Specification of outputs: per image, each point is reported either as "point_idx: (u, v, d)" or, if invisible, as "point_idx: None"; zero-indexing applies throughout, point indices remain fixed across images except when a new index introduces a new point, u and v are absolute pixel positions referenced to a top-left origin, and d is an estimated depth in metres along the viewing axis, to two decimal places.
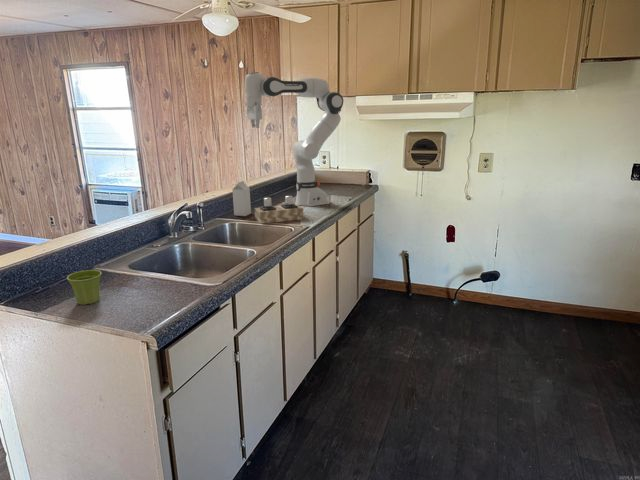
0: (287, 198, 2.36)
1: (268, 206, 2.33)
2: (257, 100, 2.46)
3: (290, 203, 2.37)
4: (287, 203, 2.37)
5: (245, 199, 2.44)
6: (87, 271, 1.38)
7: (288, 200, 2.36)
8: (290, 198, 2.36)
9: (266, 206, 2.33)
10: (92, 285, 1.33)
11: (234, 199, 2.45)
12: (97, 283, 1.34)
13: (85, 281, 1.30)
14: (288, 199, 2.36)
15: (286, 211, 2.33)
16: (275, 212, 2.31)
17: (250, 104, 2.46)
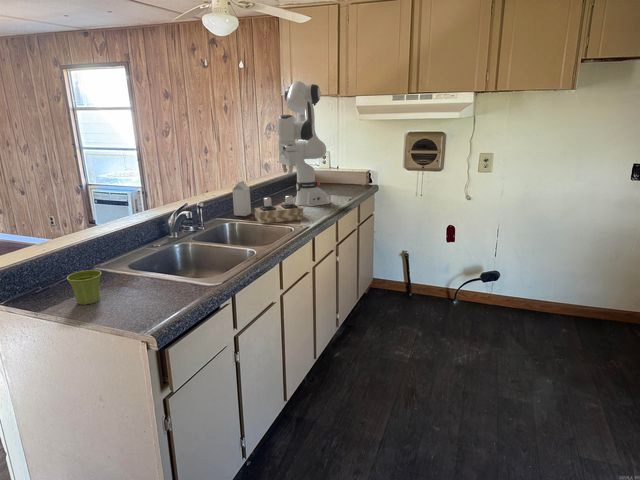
0: (287, 198, 2.36)
1: (268, 206, 2.33)
2: None
3: (290, 203, 2.37)
4: (287, 203, 2.37)
5: (245, 199, 2.44)
6: (87, 271, 1.38)
7: (288, 200, 2.36)
8: (290, 198, 2.36)
9: (266, 206, 2.33)
10: (92, 285, 1.33)
11: (234, 199, 2.45)
12: (97, 283, 1.34)
13: (85, 281, 1.30)
14: (288, 199, 2.36)
15: (286, 211, 2.33)
16: (275, 212, 2.31)
17: None
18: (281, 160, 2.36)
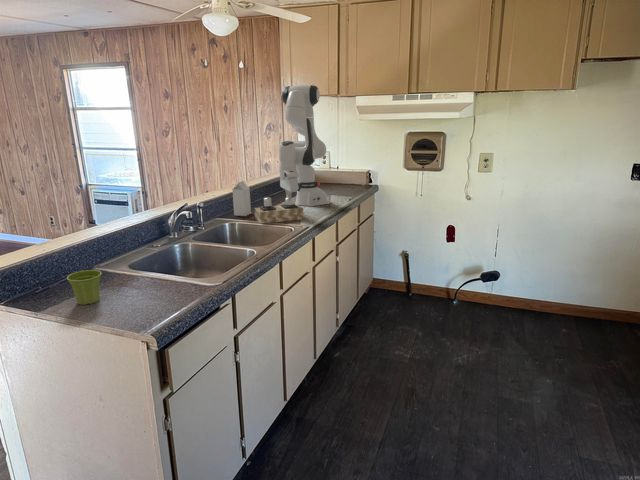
0: (287, 200, 2.37)
1: (268, 206, 2.33)
2: None
3: (290, 205, 2.37)
4: (287, 205, 2.37)
5: (245, 199, 2.44)
6: (87, 271, 1.38)
7: (288, 202, 2.37)
8: (290, 200, 2.37)
9: (266, 206, 2.33)
10: (92, 285, 1.33)
11: (234, 199, 2.45)
12: (97, 283, 1.34)
13: (85, 281, 1.30)
14: (288, 201, 2.37)
15: (286, 211, 2.33)
16: (275, 212, 2.31)
17: None
18: (282, 185, 2.40)
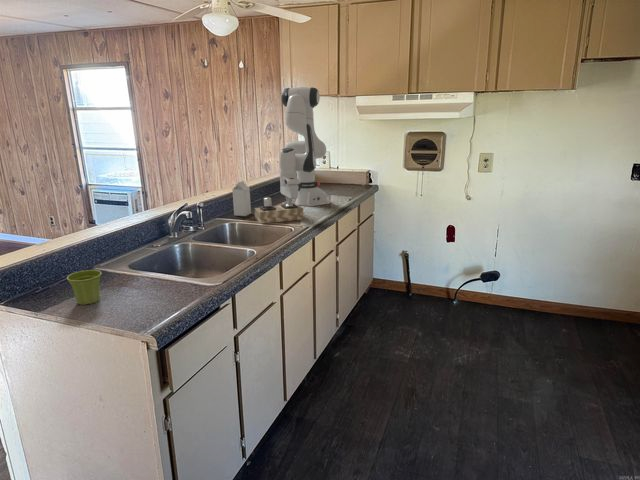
0: None
1: (268, 206, 2.33)
2: None
3: None
4: None
5: (245, 199, 2.44)
6: (87, 271, 1.38)
7: None
8: None
9: (266, 206, 2.33)
10: (92, 285, 1.33)
11: (234, 199, 2.45)
12: (97, 283, 1.34)
13: (85, 281, 1.30)
14: None
15: (286, 211, 2.33)
16: (275, 212, 2.31)
17: None
18: (282, 191, 2.41)
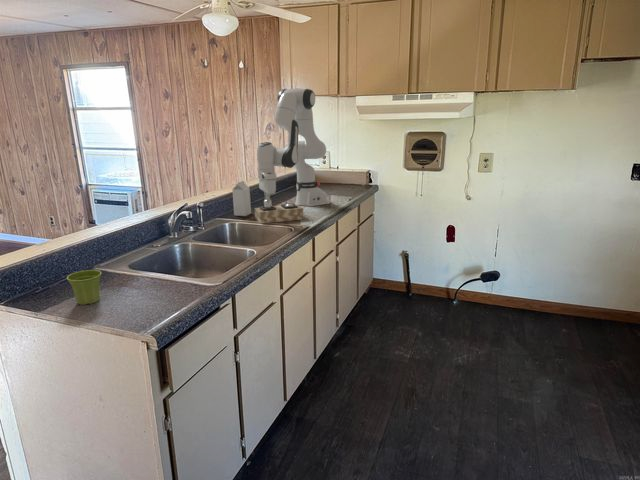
0: None
1: None
2: None
3: None
4: None
5: (245, 199, 2.44)
6: (87, 271, 1.38)
7: None
8: None
9: None
10: (92, 285, 1.33)
11: (234, 199, 2.45)
12: (97, 283, 1.34)
13: (85, 281, 1.30)
14: None
15: (286, 211, 2.33)
16: (275, 212, 2.31)
17: None
18: (261, 187, 2.36)
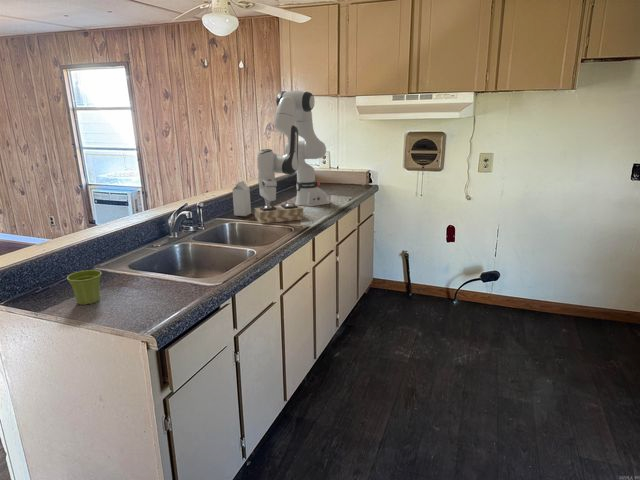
0: None
1: None
2: None
3: None
4: None
5: (245, 199, 2.44)
6: (87, 271, 1.38)
7: None
8: None
9: None
10: (92, 285, 1.33)
11: (234, 199, 2.45)
12: (97, 283, 1.34)
13: (85, 281, 1.30)
14: None
15: (286, 211, 2.33)
16: (275, 212, 2.31)
17: None
18: (261, 193, 2.37)
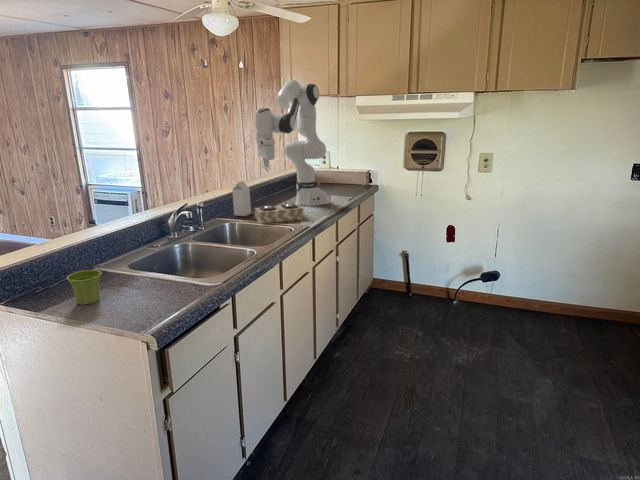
0: None
1: None
2: None
3: None
4: None
5: (245, 199, 2.44)
6: (87, 271, 1.38)
7: None
8: None
9: None
10: (92, 285, 1.33)
11: (234, 199, 2.45)
12: (97, 283, 1.34)
13: (85, 281, 1.30)
14: None
15: (286, 211, 2.33)
16: (275, 212, 2.31)
17: None
18: (260, 153, 2.39)
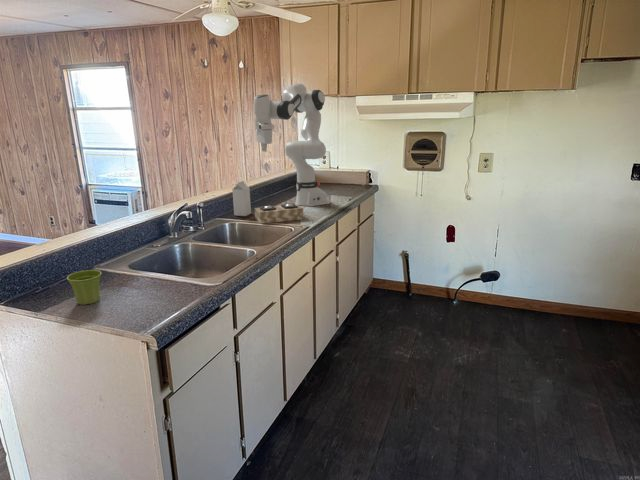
0: None
1: None
2: None
3: None
4: None
5: (245, 199, 2.44)
6: (87, 271, 1.38)
7: None
8: None
9: None
10: (92, 285, 1.33)
11: (234, 199, 2.45)
12: (97, 283, 1.34)
13: (85, 281, 1.30)
14: None
15: (286, 211, 2.33)
16: (275, 212, 2.31)
17: None
18: (258, 139, 2.46)
